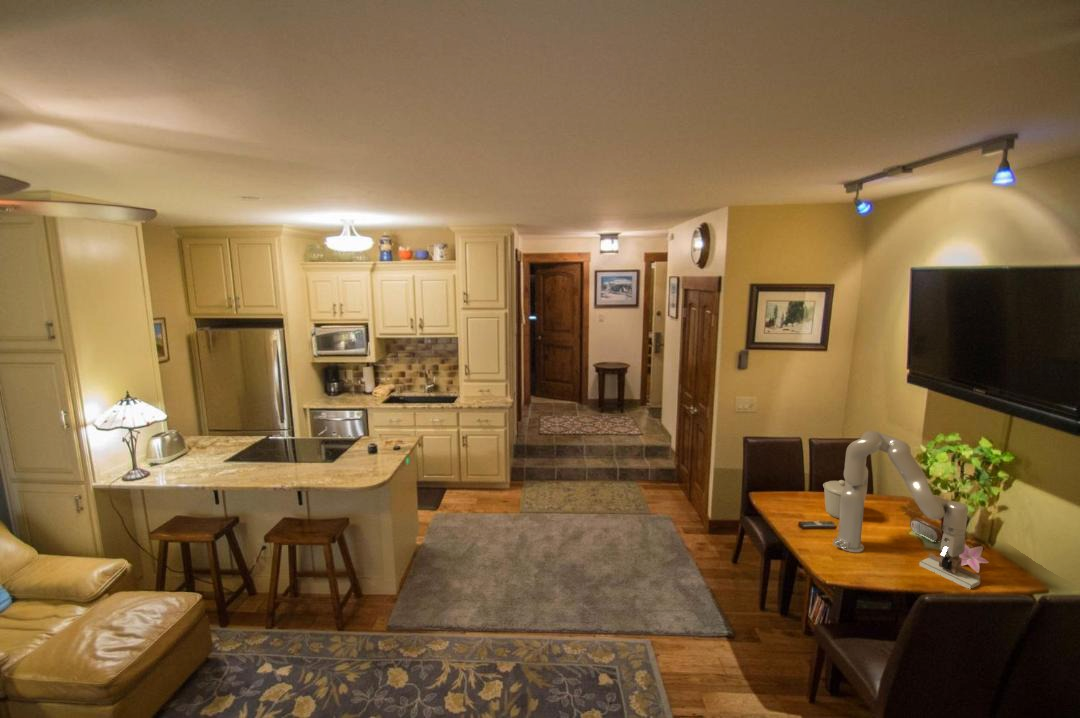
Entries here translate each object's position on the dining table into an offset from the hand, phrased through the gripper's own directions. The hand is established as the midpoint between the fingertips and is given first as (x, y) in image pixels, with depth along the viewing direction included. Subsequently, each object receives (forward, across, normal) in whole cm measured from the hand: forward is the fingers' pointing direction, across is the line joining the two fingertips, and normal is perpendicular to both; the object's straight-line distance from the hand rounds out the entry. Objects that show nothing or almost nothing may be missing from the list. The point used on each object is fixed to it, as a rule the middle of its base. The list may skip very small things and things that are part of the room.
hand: (949, 566), depth 207 cm
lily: (+5, +16, 0) cm, 17 cm away
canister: (+4, +9, +56) cm, 57 cm away
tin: (+5, +25, +22) cm, 34 cm away
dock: (+4, 0, 0) cm, 4 cm away
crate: (+1, 0, 0) cm, 1 cm away
